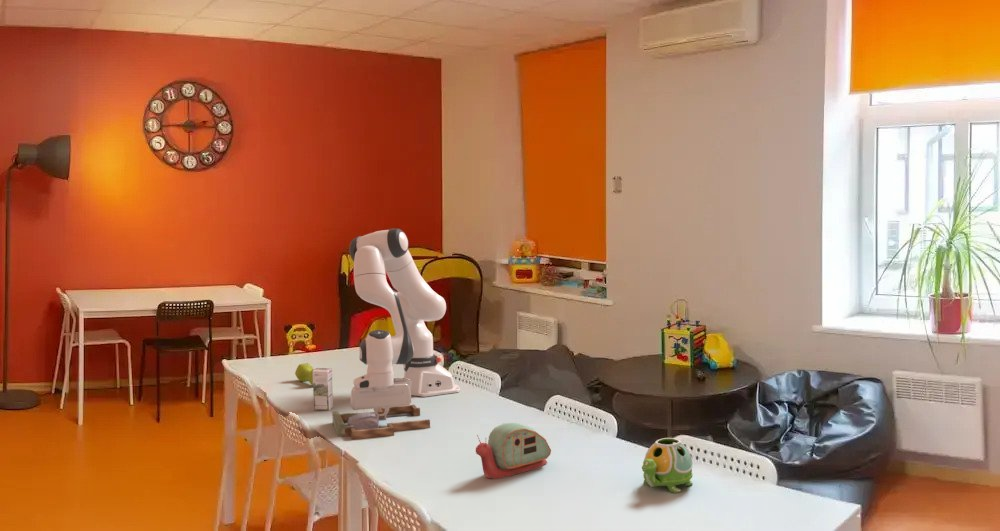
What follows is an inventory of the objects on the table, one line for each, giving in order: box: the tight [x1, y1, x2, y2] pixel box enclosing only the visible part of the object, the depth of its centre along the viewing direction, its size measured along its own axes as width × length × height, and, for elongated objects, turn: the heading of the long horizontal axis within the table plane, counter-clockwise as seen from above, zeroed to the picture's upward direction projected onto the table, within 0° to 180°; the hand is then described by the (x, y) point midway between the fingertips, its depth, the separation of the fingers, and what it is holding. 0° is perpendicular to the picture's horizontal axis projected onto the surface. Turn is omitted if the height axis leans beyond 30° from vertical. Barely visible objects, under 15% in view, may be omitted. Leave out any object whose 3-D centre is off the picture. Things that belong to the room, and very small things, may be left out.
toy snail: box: [475, 422, 552, 480], centre depth 252 cm, size 25×8×14 cm, turn 129°
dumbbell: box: [294, 362, 315, 387], centre depth 365 cm, size 16×8×7 cm, turn 36°
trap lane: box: [331, 404, 431, 440], centre depth 301 cm, size 30×27×4 cm
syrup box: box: [312, 367, 334, 411], centre depth 324 cm, size 6×6×14 cm
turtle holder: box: [641, 437, 694, 494], centre depth 237 cm, size 12×18×12 cm
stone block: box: [347, 412, 380, 430], centre depth 300 cm, size 12×5×10 cm
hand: (381, 420), depth 301 cm, fingers closed
